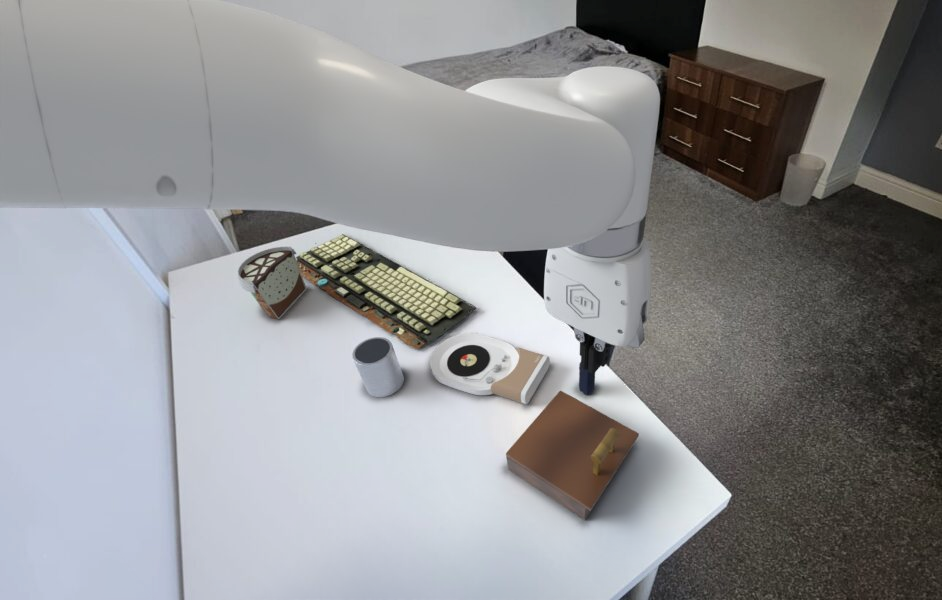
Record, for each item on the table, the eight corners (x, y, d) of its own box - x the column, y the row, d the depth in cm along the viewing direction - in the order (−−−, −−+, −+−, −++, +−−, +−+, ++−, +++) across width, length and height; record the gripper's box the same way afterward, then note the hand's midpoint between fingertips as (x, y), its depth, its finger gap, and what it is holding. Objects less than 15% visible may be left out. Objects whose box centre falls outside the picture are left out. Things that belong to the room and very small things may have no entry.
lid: (638, 436, 68) (642, 414, 65) (590, 511, 60) (592, 491, 56) (560, 393, 74) (559, 370, 70) (505, 456, 66) (502, 434, 62)
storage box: (631, 447, 71) (633, 433, 69) (584, 520, 63) (585, 508, 60) (560, 407, 76) (560, 393, 74) (508, 469, 68) (506, 456, 66)
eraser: (587, 397, 78) (588, 369, 74) (577, 389, 79) (578, 362, 75) (595, 389, 79) (597, 362, 75) (585, 382, 80) (587, 355, 76)
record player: (521, 400, 73) (414, 364, 79) (522, 412, 75) (418, 377, 81) (551, 349, 82) (453, 320, 87) (552, 361, 84) (455, 332, 89)
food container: (283, 281, 99) (263, 242, 92) (311, 284, 98) (292, 245, 92) (243, 321, 90) (218, 280, 83) (273, 325, 89) (250, 284, 82)
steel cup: (382, 403, 76) (368, 370, 71) (358, 386, 79) (343, 354, 73) (411, 379, 80) (400, 346, 75) (387, 364, 82) (375, 331, 77)
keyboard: (478, 312, 93) (476, 302, 91) (418, 356, 84) (415, 347, 82) (343, 235, 112) (340, 226, 111) (283, 264, 103) (279, 255, 101)
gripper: (508, 217, 42) (521, 356, 54) (659, 276, 36) (636, 417, 48) (557, 184, 47) (559, 319, 59) (697, 232, 41) (668, 370, 53)
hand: (594, 363), depth 53 cm, fingers closed
